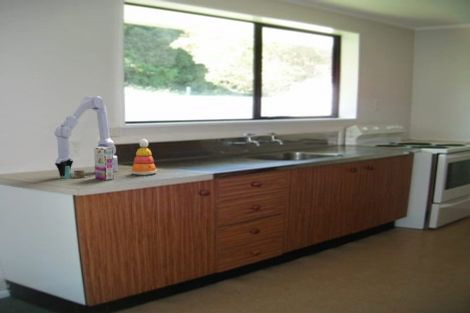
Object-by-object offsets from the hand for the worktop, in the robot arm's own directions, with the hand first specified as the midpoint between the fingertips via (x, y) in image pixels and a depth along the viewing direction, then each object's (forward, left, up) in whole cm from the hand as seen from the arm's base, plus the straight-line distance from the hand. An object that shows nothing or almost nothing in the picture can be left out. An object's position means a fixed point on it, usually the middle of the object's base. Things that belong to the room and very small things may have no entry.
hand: (64, 175), depth 258 cm
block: (0, 0, -1) cm, 1 cm away
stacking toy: (-41, +3, -2) cm, 41 cm away
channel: (-7, 0, -1) cm, 7 cm away
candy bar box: (-19, +12, -2) cm, 23 cm away
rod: (-6, 0, -2) cm, 6 cm away
